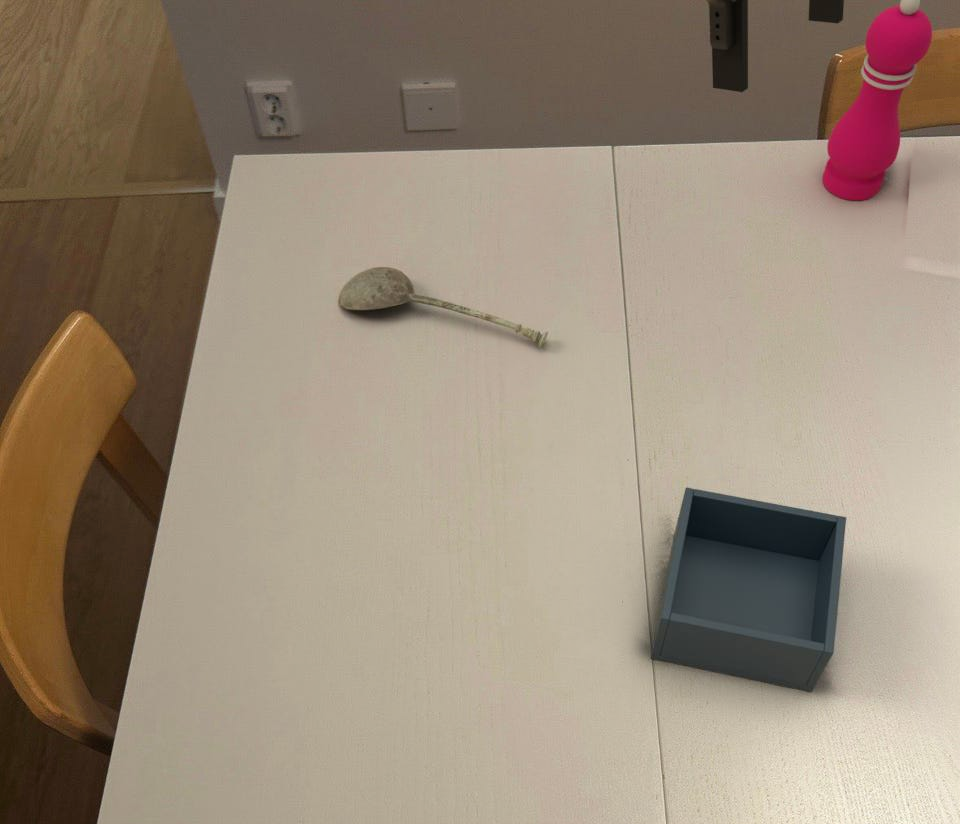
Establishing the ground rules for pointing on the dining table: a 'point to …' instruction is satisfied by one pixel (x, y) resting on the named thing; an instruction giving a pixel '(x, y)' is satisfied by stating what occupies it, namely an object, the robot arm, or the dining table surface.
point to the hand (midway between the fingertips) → (779, 53)
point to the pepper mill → (877, 103)
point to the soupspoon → (407, 297)
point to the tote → (751, 590)
